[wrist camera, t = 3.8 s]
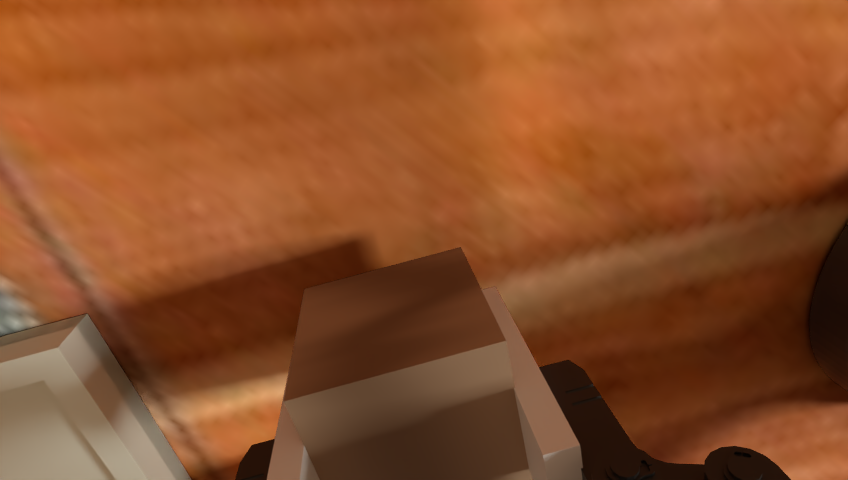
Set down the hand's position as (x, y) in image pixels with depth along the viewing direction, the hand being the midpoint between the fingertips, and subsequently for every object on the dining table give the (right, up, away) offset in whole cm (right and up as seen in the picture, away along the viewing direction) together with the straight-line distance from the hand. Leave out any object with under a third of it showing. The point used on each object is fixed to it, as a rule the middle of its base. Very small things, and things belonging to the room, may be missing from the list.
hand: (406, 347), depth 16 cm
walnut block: (0, 0, 0) cm, 1 cm away
